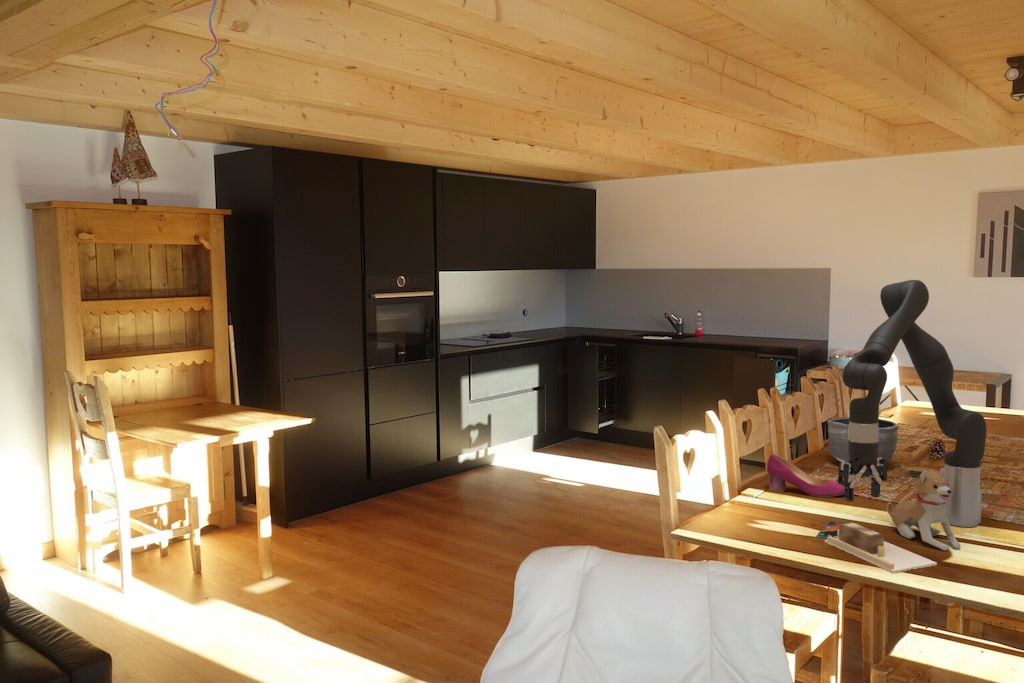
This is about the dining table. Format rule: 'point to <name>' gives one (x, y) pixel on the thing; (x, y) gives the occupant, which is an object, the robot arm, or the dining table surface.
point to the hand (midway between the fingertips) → (862, 498)
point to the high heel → (799, 479)
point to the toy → (925, 510)
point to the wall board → (885, 556)
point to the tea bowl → (840, 438)
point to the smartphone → (829, 530)
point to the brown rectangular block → (861, 537)
